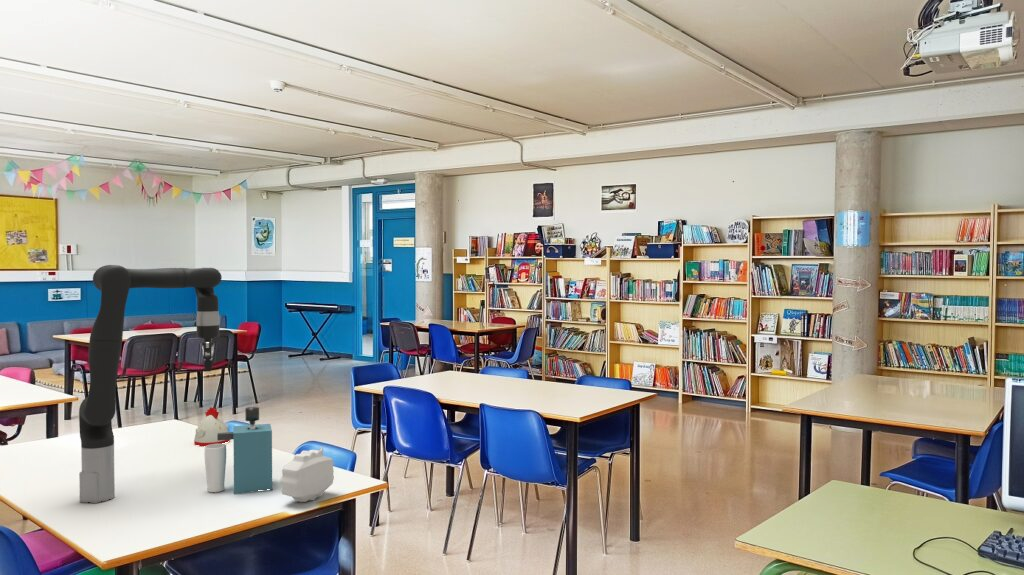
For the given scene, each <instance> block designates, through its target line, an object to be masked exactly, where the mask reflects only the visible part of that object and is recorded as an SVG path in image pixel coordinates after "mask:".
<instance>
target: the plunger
mask: <svg viewBox="0 0 1024 575" xmlns="http://www.w3.org/2000/svg"><path fill="white" fill-rule="evenodd" d="M244 417H245V418H244V419H245V421H246V422H249V425H250V429H255V425H256V422H257V421H259V420H260V407H258V406H249V407H245V416H244Z"/></svg>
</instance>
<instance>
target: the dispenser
mask: <svg viewBox="0 0 1024 575" xmlns="http://www.w3.org/2000/svg"><path fill="white" fill-rule="evenodd" d="M218 440H230V441H231V440H233V494H234V493H239V494H243V493H242V492H250V493H252V492H251V491H258V490H267V489H272V490H273V429H272V426H271V423H261V424H255V429H250V424H245V425H233V430H232V431H228V432H225V433H218V434H217V441H218Z"/></svg>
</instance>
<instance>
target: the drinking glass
mask: <svg viewBox="0 0 1024 575" xmlns="http://www.w3.org/2000/svg"><path fill="white" fill-rule="evenodd" d="M204 466H205V476H206V486H207V487H206V490H207V492H208V493H212V492H215V493H221V492H223V491H224V490H225V481H226V467H227V444H211V445H207V446H205V447H204Z"/></svg>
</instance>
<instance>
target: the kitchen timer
mask: <svg viewBox="0 0 1024 575" xmlns="http://www.w3.org/2000/svg"><path fill="white" fill-rule="evenodd" d="M206 410H207V411H205V412H204V413H205V417H204V418H203V419H202V420H201V422H200V423H199V425H198V426H197V428H196V429H195V435H194V440H193V441H194V444H193V445H194V446H196V445H200V446H199V447H204V446H207V445H211V444H222V443H225V442H228V441H229V440H218V441H217V434H218V433H225V432H229V425H228V423H227V424H226V423H225V422H224V420H223V419H222V418H221V417H219V411H218V408H215V407H212V406H211V407H209V409H206ZM229 442H230V441H229Z"/></svg>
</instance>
